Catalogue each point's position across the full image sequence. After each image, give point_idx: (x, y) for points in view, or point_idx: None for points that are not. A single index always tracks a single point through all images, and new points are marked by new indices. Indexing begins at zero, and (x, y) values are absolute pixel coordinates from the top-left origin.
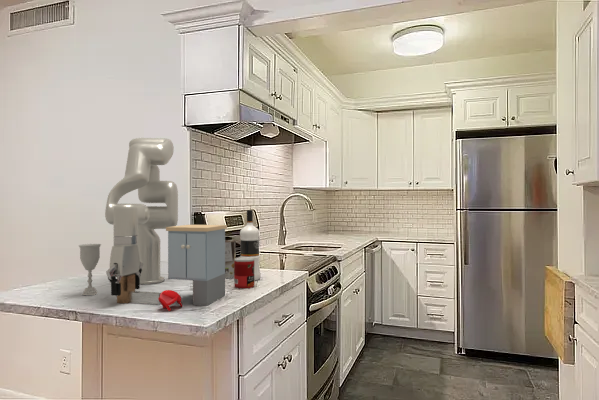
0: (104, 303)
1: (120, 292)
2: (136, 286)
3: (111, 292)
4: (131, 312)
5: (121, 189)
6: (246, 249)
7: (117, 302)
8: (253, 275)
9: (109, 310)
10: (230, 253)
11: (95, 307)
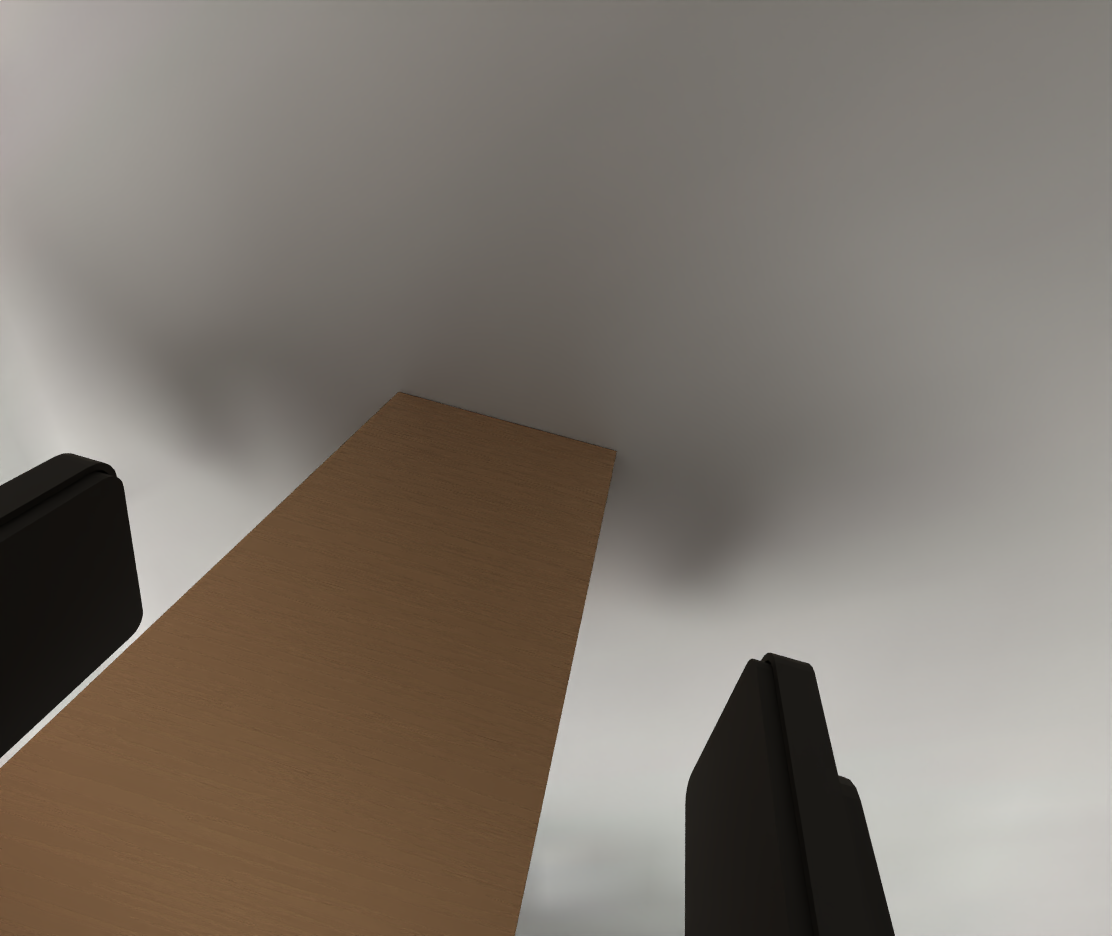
0: (324, 149)
1: (83, 663)
2: (696, 813)
3: (25, 481)
4: (61, 701)
5: None
6: None
7: (393, 404)
8: None
9: (12, 456)
10: None
11: (34, 127)
